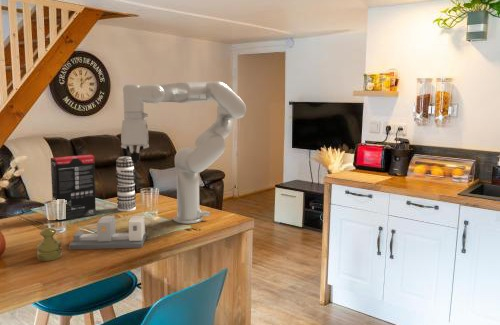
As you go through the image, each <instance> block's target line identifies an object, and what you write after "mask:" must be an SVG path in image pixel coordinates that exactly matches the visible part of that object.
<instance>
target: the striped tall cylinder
mask: <svg viewBox="0 0 500 325" xmlns="http://www.w3.org/2000/svg"><path fill="white" fill-rule="evenodd" d="M115 161H116V169H115V170H116V171H115V172H114V174H115V178H116V179H115V182H116V183H115V185H116V187H117V194H116V197H117V198H116V201H117V202H116V204H117V206H116V208H117V211H119V212H131V211H135V210H136V209H137V207H136V206H137V204H136V203H137V200H136V191H135V185H136V182H135V180H136V175H135V174H134V173H136V168H135V166H134V163H133V161H132V160H131V156H127V155H125V156H119V157H118V158H117V159H116V160H115Z"/></svg>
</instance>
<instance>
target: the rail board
mask: <svg viewBox="0 0 500 325" xmlns="http://www.w3.org/2000/svg"><path fill="white" fill-rule="evenodd" d="M147 236H148V232H147V231H146V220H145V215H132V216H131V218H130V219H129V221H128V232H127V231H125V232H122V231H121V232H116V234H114V235H113V236H112V240H111V241H103V242H98V233H97V232H86V233H84V230H78V231H76V232H75V233H74V234H73V240H72V241H71V242H70V243H69V244H68V249H69V250H96V249H101V250H102V249H104V250H105V249H128V248H129V249H136V248H141V249H142V248H143V245H144V243H145V242H146V239H147Z"/></svg>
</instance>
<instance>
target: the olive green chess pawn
mask: <svg viewBox="0 0 500 325" xmlns="http://www.w3.org/2000/svg"><path fill="white" fill-rule="evenodd" d="M56 233H57V230H56V229H54V228H51V227H45V228H44V229H42V230H41V231H39V235H40V236H42V237H43V239H42V240H41V241H40V243H38V244H37V245H36V250H37V252H36V254H37V260H38V261H40V262H50V261H51V262H52V261H55V260H58V259H60V258H61V257H62V256H63V255H62V254H63V253H62V243H61V242H60V241H59V240H57V239H55V238H54V235H55V234H56Z"/></svg>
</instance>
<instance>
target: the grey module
mask: <svg viewBox="0 0 500 325" xmlns="http://www.w3.org/2000/svg"><path fill="white" fill-rule="evenodd" d="M96 227H97V228H96V229H97V231H96V233H98V242H103V241H111V240H112V236H113V235H114V234H116V233H117V232H116V216H114V215H112V216H111V215H110V216H107V215H106V216H105V215H104V216H101V218H100V219H99V220H98V221H97V222H96Z"/></svg>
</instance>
